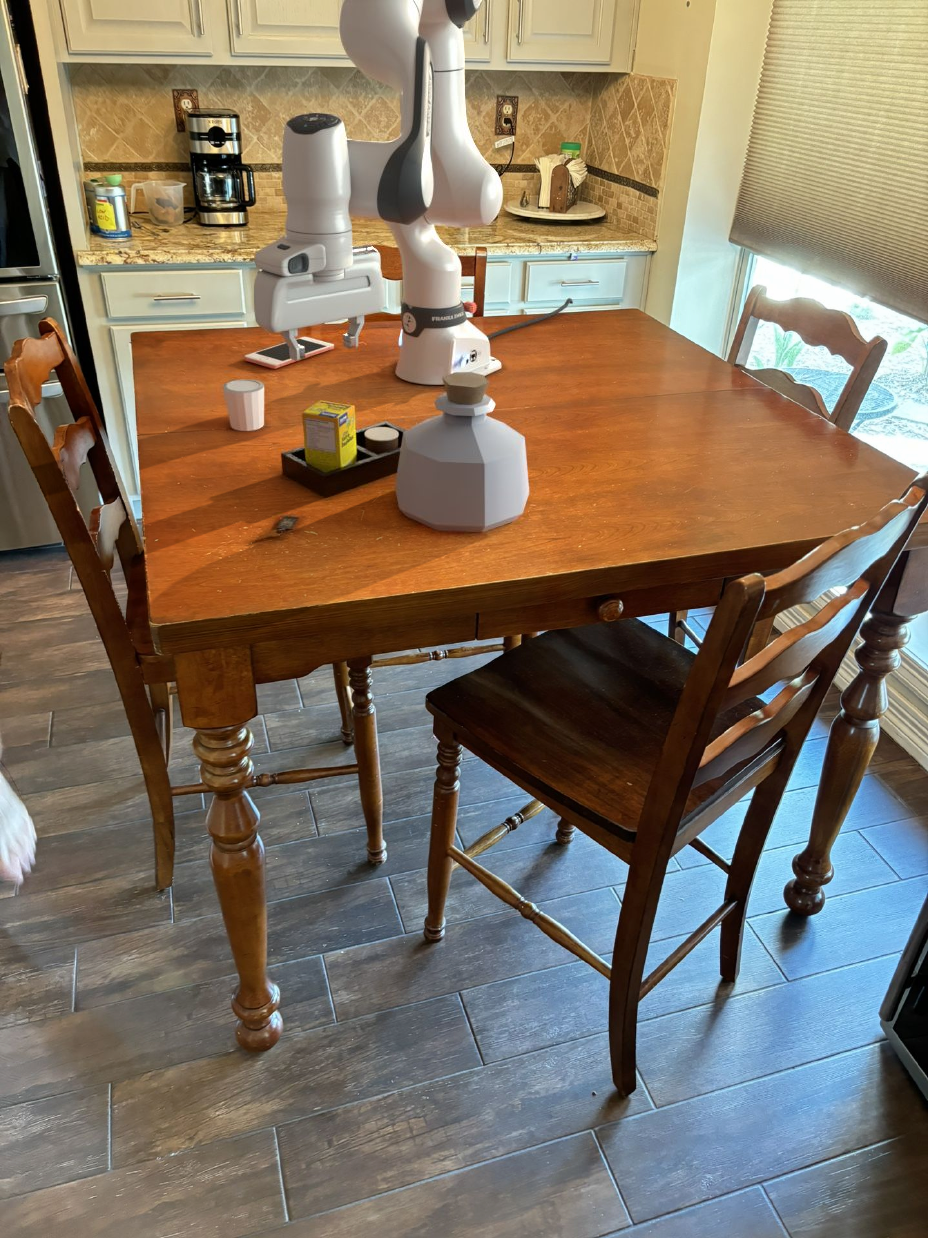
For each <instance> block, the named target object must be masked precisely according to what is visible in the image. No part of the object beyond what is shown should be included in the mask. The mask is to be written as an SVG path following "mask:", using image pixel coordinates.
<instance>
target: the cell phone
mask: <svg viewBox="0 0 928 1238" xmlns="http://www.w3.org/2000/svg"><path fill="white" fill-rule="evenodd" d="M295 339H296V341H297V343H298V345H300V346H303V347H305V353H304V354H305V359H307V358H311V357H314V356H316V355H319V354H322V353H325V352H328V351H332V350H334V349H335V344H334V343H331V342H326V341H323V340H319V339H316V338H312V337H309V336H302V337H299V338H295ZM301 360H303V359H301ZM301 360H297V361H295V360H293V359H291V358H290V354H289V346H288V345H287V343H286V342H283V343H280V344H277V345H273V346H269V347H267V348H265V349H261V350H258V351H254V352H251V353H248V354H246V355H244V361H246V362H249V363H253V364H256V365H260V366H263V367H266V368H270V369H273V370H277V369H278V368H281V367H284V366H287V365H290V364H293V363H296V362H299V361H301Z"/></svg>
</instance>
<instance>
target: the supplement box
mask: <svg viewBox="0 0 928 1238" xmlns="http://www.w3.org/2000/svg"><path fill="white" fill-rule="evenodd" d="M355 408H356V407H355V405H353V404H346V403H340V402H333V401H327V400H322V399H320V400H318V401H317V402H315V403H314V404H312V405H311V406H309V407H308V408H307V409H305V410H303V412H302V414H301V415H302V416H301V417H302V428H303V429H302V430H303V431H302V432H303V440H304V441H303V443H304V445H303V446H305V457H306V463H308V464H310V465H312V466H314V467H316V468H318V469H320V470H321V471H323V472H328V471H331V470H334V469H337V468H340V467H343V466H346V465H349V464H352V463H355V462H357V451H356V430H357V429H356V412H355V411H356V410H355Z"/></svg>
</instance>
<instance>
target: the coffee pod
mask: <svg viewBox="0 0 928 1238" xmlns="http://www.w3.org/2000/svg"><path fill="white" fill-rule="evenodd" d="M398 435H399V433H398V431H396V430H395V429H392V428H387V427H376V428H371V429H368V430H367V431H365V447H366V449H367V450H369V451H371V452H373V453H375V454H377V455H379V454H382V453H385V452H388V451H391V450H394V449H397V448H398Z"/></svg>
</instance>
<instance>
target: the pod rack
mask: <svg viewBox="0 0 928 1238" xmlns="http://www.w3.org/2000/svg"><path fill="white" fill-rule="evenodd" d="M376 427H387V428H392V429H395V430H396V431H398V433H399V435H398V448H397V449H394V450H391V451H388V452H385V453H382V454H379V455H377V454H375V453H373V452H371V451H369V450H367V449H366V447H365V431H367V430H368V429H371V428H376ZM406 430H407V429H405V428H402V427H400V426H399V425H396V424H394V423H391V422H389V421H387V420H384V421H381V422H377V423H375V424H371V425H368V426H365V427H361V428H359V429H356V451H357V462H355V463H352V464H349V465H346V466H343V467H340V468H337V469H334V470H331V471H328V472H323V471H321V470H320V469H318V468H316V467H314V466H312V465H310V464H308V463H306V457H305V445H303V446H300V447H296V448H293V449H290V450H286V451H284V452H281V453H280V460H281V471H282V476H283V475H284V476H285V477H287V478H289V479H291V480H293V481H294V482H296V483H298V484H300V485H302V486H303V487H305V488H306V489H309V490H310V491H313V492H314V493H316V494H318V495H319V496H321V497H323V498H325V499H327V498H329V497H332V496H335V495H338V494H341V493H343V492H347V491H349V490H352V489H355V488H357V487H361V486H364V485H365V484H369V483H371V482H375V481H377V480H380V479H384V478H385V477H388V476H391V475H394V474H397V470H398V464H399V458H400V451H401V445H402V438H403V432H404V431H406Z"/></svg>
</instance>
